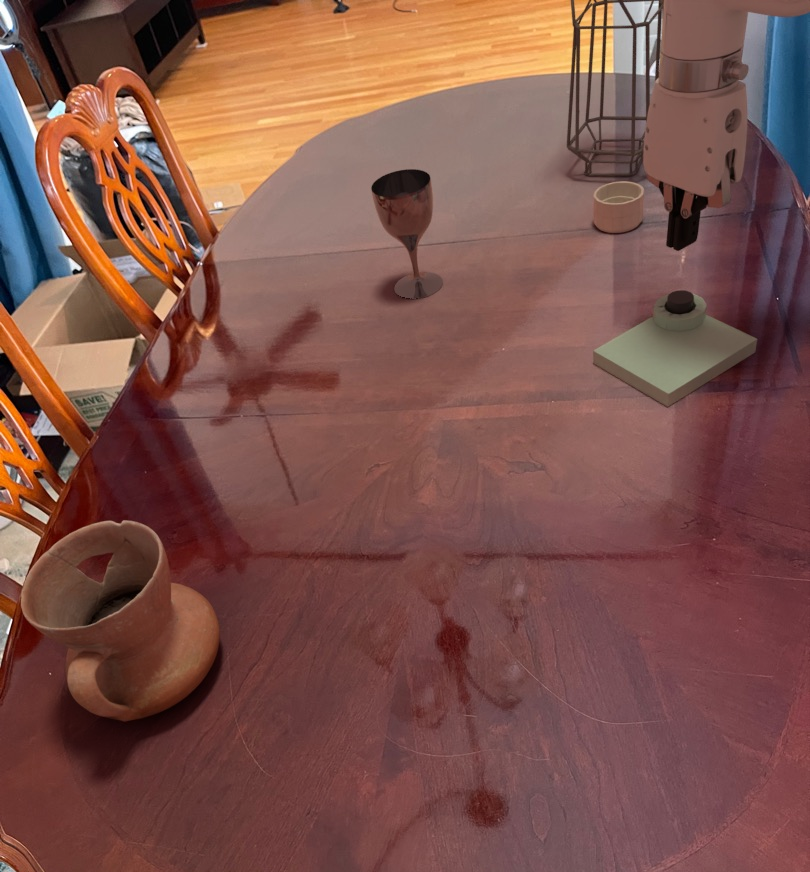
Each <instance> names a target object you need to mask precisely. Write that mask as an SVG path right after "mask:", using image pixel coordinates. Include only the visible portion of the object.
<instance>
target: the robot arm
mask: <svg viewBox="0 0 810 872" xmlns="http://www.w3.org/2000/svg"><path fill="white" fill-rule="evenodd" d="M749 13H753V14H758V15H763V16H770V17H777V18H794V17H799V16H803V15H806V14H809V13H810V0H664V8H663V23H662V22H661V41H660V61H659V78H658V79H657V80H656V81H655V80H654V85H653V88H652V92H651V95H650V105H649V110H648V116H647V122H646V121H645V130H644V133H645V137H644V139H643V140H644V151H643V159H642V163H643V164H642V165H643V169H644V172H645V173H646V180H647V181H648V182H649V183H650V184H652V185H654V186H655V187H657V188H658V190H659V191H660V194H661V195H662V198H663V208H664V210H665V211H666V212H667V213H668V219H667V228H666V229H667V231H666V240H665V241H666V243H665V245H666V247H667V248H669V249H673V250H674V251H676V252H679V251H682V250H683V249H685V248H687V247H689V246H691V245H692V244H694V243H696V242H697V240H698V236H699V231H700V230H699V229H700V221H701V212H702V211H703V210H705V209H706V208H707V207H708V208H716V209H721V208H723V207H725V206H727V205H728V204H730V203H731V201H732V193H731V192H732V191H731V184H732V185H733V184H737V183H739V182H740V181H741V180H742V177H743V173H744V169H745V168H744V167H745V159H746V150H747V137H748V94H747V85H746V83H745V82H743V81H744V80H745V79H746V78H747V75H748V73H749V70H750V69H749V65H748V64H746V63H743V56H744V55H743V53H744V46H745V38H746V32H747V23H748V16H749Z"/></svg>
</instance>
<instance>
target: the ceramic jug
mask: <svg viewBox="0 0 810 872" xmlns="http://www.w3.org/2000/svg"><path fill="white" fill-rule="evenodd" d="M105 554H106V555H107V554H112V555H111V558H110V560H109V561H108V563H107V566H106V571H105V574H104V576H103V581H102V582H99V581H97V580H95V579H93V578H91V577H89V576H88V575H86V574H85V573H84V572H83V571H81V570H80V569H78V566H79V565H80V564H81V563H82V562H84V561H85V560H87V559H90V558H92V557H96V556H101V555H105ZM171 580H172V579H171V571H170V564H169V559H168V555H167V552H166V549H165V546H164V543H163V542H162V540H161V538H160V537H159V535H158V533H156V532H155V530H153V529H152V528H151V527H149V526H147V525H146V524H143V523H141V522H138V521H133V520H127V519H124V520H122V521H121V522H119V523H118V522H115V521H113V520H104V521H99V522H95V523H91V524H89V525H85V526H83V527H80V528H78V529H76V530H74V531H72V532H70V533H69V534H67V535H65V536H64V537H63V538H61V539H59V540H58V541H57V542H56V543H54V544H53V545H52V546H51V547H50V548H49V549H48V550H47V551H45V552H44V553H43V554H42V555H41V556H40V557H39V558H38V559H37V561H36V562H35V563H34V565H32V567H31V568H30V570H29V572H28V574H27V575H26V578H25V580H24V583H23V586H22V589H21V594H20V608H21V611H22V614H23V616H24V618H25V620H26V621H27V622H28V623H29V624H30V625H31V626H32V627H34V629H36V630H37V631H39V632H40V633H41V634H42V635H44V636H45V637H47V638H48V639H50V640H52V641H53V642H56V643H57V644H59V645H61V646H62V647H63V646H64V647H66V648H68V649H67V653H66V658H65V664H64V665H65V667H64V669H65V678H66V683H67V687H68V690H69V693H70V694H71V696H72V698H73V699H74V701H75V702H76V703H77V704H79V706H81V707H82V708H83V709H85V710H87V711H88V712H90V713H91V714H94V715H96V716H99V717H103V718H106V719H111V720H115V721H116V720H117V721H120V722H130V721H134V720H141V719H144V718H147V717H150V716H154V715H157V714H160V713H161V712H164V711H166V710H168V709H170V708H172V707H173V706H175V705H177V704H178V703H180V702H181V701H183V700H184V699H185V698H187V697H188V696H189V695H191V693H193V691H195V689H197V687H199V685H200V684H201V683H202V682H203V680H205V678H206V676H207V675H208V673H209V671H210V670H211V668H212V667H213V665H214V662H215V660H216V657H217V654H218V651H219V646H220V639H221V630H220V623H219V619H218V616H217V614H216V611H215V609H214V607H213V605H212V604H211V603H210V602H209V600H208V599H207V598H206V597H204V596H203V595H202V594H201V593H200V592H198V591H196V590H195V589H193V588H191V587H189V586H186V585H184V584H181V583H177V582H172V581H171Z"/></svg>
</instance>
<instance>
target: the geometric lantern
mask: <svg viewBox="0 0 810 872" xmlns="http://www.w3.org/2000/svg"><path fill="white" fill-rule="evenodd" d="M639 2H640V3H641V2H650V4H649V7H648V9H647V12H646V15H645V17H644V20H643V21H641V22H637V23H636V21H635V20H634V17H632V15H631V13H630V12H629V10H628V8H627V6H626V4H625V3H639ZM654 2H658V5H657V7H658V8H657V10H656V12H654V14H653V15H652V17H651V18H650V19H649V15H650V12H651V10H652V7H653V5H654ZM617 3H618V4H619V5H620V7H621V9H622V11H623V12H624V14H625V16H626V17H627V19H628V21H629V23H630V24H631V25H628V24H627V25H608V5H609V4H617ZM599 6H603V23H602V25H596V13H597V12H596V11H597V7H599ZM590 8H591V23H590V25H581V22H582V20H583V19H584V16H585V14H586V13H587V12H588V11H589V10H590ZM663 8H664V0H600V1H598V0H593V3H592V0H588V2H587V4H586V5H585V8H584V10H583V11H582V12H581V13H580V14H579V16H578V17H576V8H575V0H570V9H571V10H570V11H571V22H572V27H573V33H572V34H573V35H572V50H571V67H570V68H571V70H570V84H569V97H568V98H569V100H568V115H567V116H568V118H567V130H566V132H567V134H566V148H567V150H569V152H571V153H573V154H574V155H575V156H577V158H580V159H581V160H582V161H584V171H583V175H584V176H588V177H619V176H620V177H622V176H623V177H624V176H627V177H628V176H632V175H635V174H637V173H638V170H639V168H640V166H641V164H642V163H643V151H644V138H645V132H643V134H642V136H641V138H636V121H645V123H646V122H647V116H648V110H649V105H650V100H651V88H650V86H651V82H650V81H651V79H650V78H651V71H650V70H651V65H650V64H651V62H650V59H651V58H650V56H651V52H650V46H651V44H650V43H651V42H650V39H651V38H650V37H651V36H650V35H651V33H650V32H651V30H650V28H651V27H650V26H651V24H652V22H653V21H654V20H655V19H656V17H657V29H656V52H655V68H654V71H655V73H654V82H655V81H656V80H657V79H658V78H659V65H660V51H661V37H662V23H663ZM648 19H649V20H648ZM647 20H648V21H647ZM580 25H581V26H580ZM637 28H645V116H636V105H637V102H636V100H637V98H636V97H637V37H638V35H637ZM620 29H621V30H625V29H627V30H628V29H632V57H631V60H632V61H631V64H632V65H631V66H632V69H631V116H627V115H626V116H625V115H624V116H622V115H621V116H620V115H619V116H617V115H616V116H615V115H613V116H611V115H607V116H606V115H604V103H605V102H604V101H605V79H606V57H607V56H606V55H607V34H608V33H607V32H608V31H607V30H620ZM581 30H590V39H589V40H590V41H589V58H588V72H587V90H586V91H587V92H586V105H585V119H584V123H583V124H581V126H580V87H581V85H580V83H581V82H580V80H581V79H580V78H581V77H580V76H581ZM595 30H602V44H601V45H602V46H601V47H602V48H601V69H600V70H601V71H600V72H601V73H600V96H599V97H600V98H599V99H600V100H599V116H596V117H591V118H590V108H591V94H592V93H591V91H592V80H593V79H592V76H593V61H594V47H595V45H594V44H595ZM574 88H575V126H574V127H575V131H574V133H575V134H574V136H573V137H572V138H571V135H572V122H573V121H572V119H573V105H574V103H573V102H574ZM602 121H631V125H630V126H631V127H630V129H631V131H630V132H631V134H630V135H631V137H630V138H609V139H607V138H605V139H602ZM594 122H598V140H597V139H596V136H595V134H594V133H593V131H592V129H591V127H590V125H589V124H590V123H594ZM585 128H586V129H587V130H588V132H589V134H590V136H591V138H592V140H593V144H592V146H591V147H590V148H589V149H587V148H580V135H581V133H582V132H583V130H584V129H585ZM574 142H575V145H574V146H573V144H574ZM612 142H613V143H615V142H619V143H620V142H630V146H631V147H630V149H619V150H617V149H616V150H605V149H603V150H602V146H603V143H612ZM636 142H638V149H636ZM598 143H599V146H598V149H597V144H598ZM584 154H587V156H586V155H584ZM591 155H592V156H591ZM599 155H610V156H611V155H613V156H624V157H625V156H626V157H631V158H630V160H594V159H595V157H596V156H599ZM590 156H591V158H590ZM635 156H636V157H635ZM589 158H590V159H589ZM634 158H635V159H634ZM634 163H635V166H634V170H633V164H634ZM592 164H623V165H625V164H627V165H629V172H606V173H605V172H602V173H592V172H593V171H592Z"/></svg>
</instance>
